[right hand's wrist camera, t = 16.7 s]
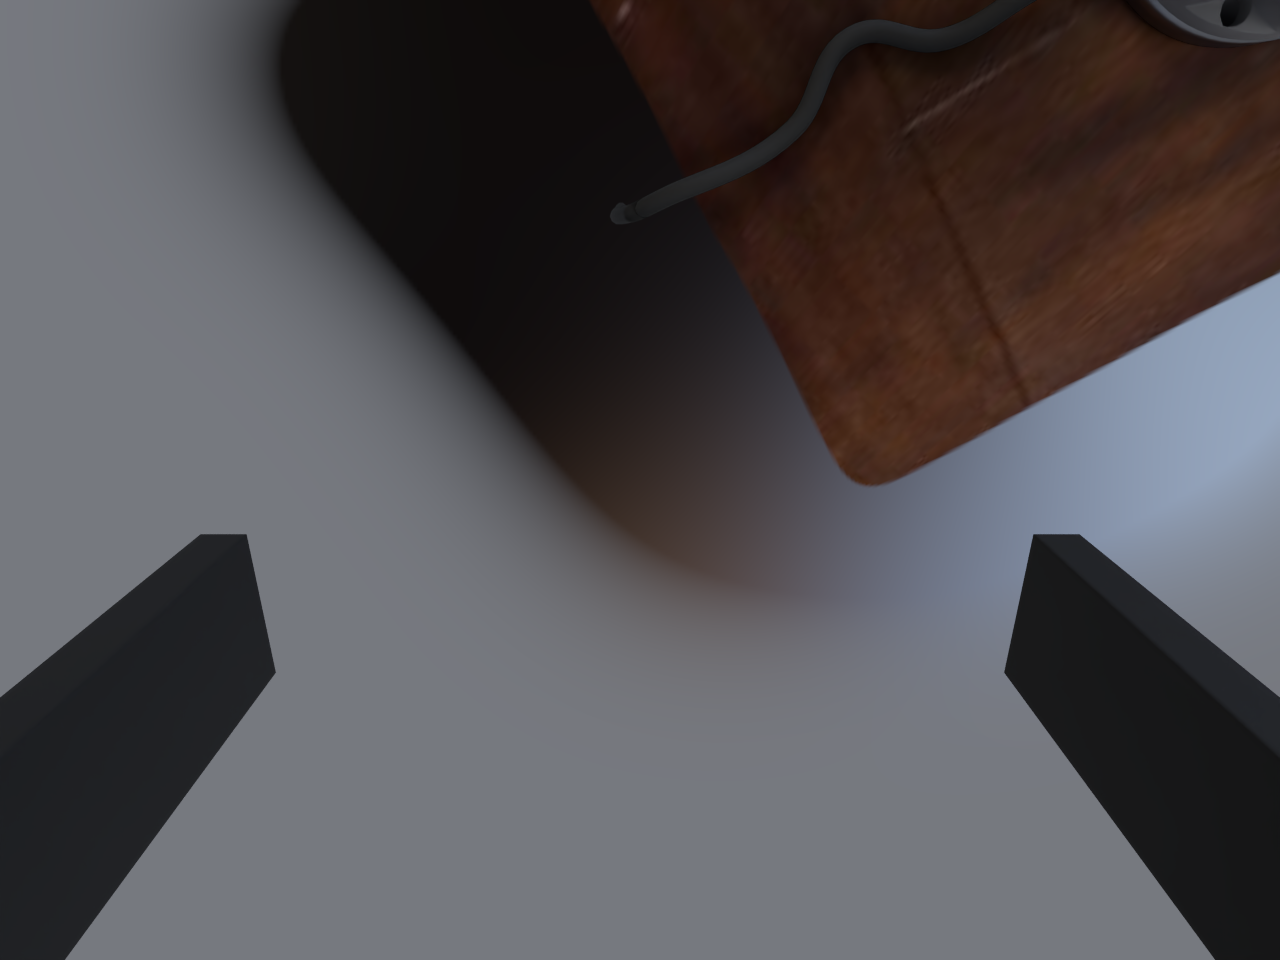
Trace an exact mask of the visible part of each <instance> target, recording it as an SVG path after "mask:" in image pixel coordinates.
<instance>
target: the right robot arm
mask: <svg viewBox="0 0 1280 960" xmlns="http://www.w3.org/2000/svg"><path fill="white" fill-rule="evenodd" d="M1034 1H1036V0H996V1H995V2H993V3H992V4H990V5H989V6H987V7H986V8H984V9H983V10H981V11H980V12H978V13H976V14H975V15H973V16H971V17H969V18H967V19H965V20H963V21H961V22H959V23H956V24H954V25H951V26H948V27H945V28H940V29H920V28H915V27H911V26H907V25H904V24H900V23H896V22H892V21H887V20H876V19H874V20H865V21H862V22H858V23H855V24H853V25H851V26H849V27H847V28H845V29H844V30H843V31H841V32H840V33H838V34H837V35H836V36H835V37H834V38H833V39H832V40H831V41H830V42H829V43H828V44H827V46H826V47H825V48H824V50H823V51H822V53H821V55H820V56H819V58H818V60H817V62H816V64H815V67H814V69H813V71H812V74H811V76H810V79H809V82H808V85H807V87H806V90H805V92H804V95H803V97H802V99H801V102H800V104H799V106H798V107H797V109H796V111H795V112H794V114H793V115H792V116H791V117H790V118H789V120H788V121H787V122H786V123H785V124H783V125H782V126H781V127H780V128H779V129H778V130H777V131H775V132H774V133H773V134H772V135H770V136H769V137H768V138H766V139H765V140H763V141H762V142H760V143H759V144H757V145H756V146H754V147H753V148H751V149H749V150H747V151H746V152H744V153H742V154H740V155H738V156H736V157H734V158H732V159H730V160H727V161H725V162H723V163H721V164H718V165H716V166H713V167H711V168H708V169H706V170H703V171H701V172H698V173H696V174H693V175H691V176H688V177H686V178H683V179H681V180H678V181H676V182H674V183H672V184H669V185H667V186H665V187H663V188H661V189H659V190H657V191H655V192H653V193H651V194H649V195H647V196H645V197H643V198H641V199H639V200H637V201H635V202H633V203H631V204H629V205H625V204H624V203H618V204H617V205H616V207H615V208H614V209H613V210H612V211H611V215H610V218H611V220H612V222H614V223H615V224H627V223H632V222H637V221H640V220H642V219H645V218H647V217H649V216H651V215H653V214H655V213H657V212H659V211H661V210H663V209H666V208H668V207H670V206H672V205H674V204H676V203H679V202H681V201H684V200H686V199H689V198H691V197H694V196H696V195H699V194H701V193H704V192H706V191H709V190H711V189H714V188H717V187H719V186H721V185H724V184H726V183H729V182H731V181H733V180H735V179H738V178H740V177H742V176H744V175H746V174H748V173H750V172H752V171H754V170H755V169H757V168H759V167H761V166H762V165H764V164H765V163H767V162H768V161H770V160H772V159H773V158H775V157H776V156H777V155H779V154H780V153H781V152H783V151H784V150H785V149H786V148H788V147H789V146H790V145H791V144H792V143H793V142H795V141H796V140H797V139H798V138H799V137H800V136H801V135H802V134H803V133H804V132H805V131H806V129H807V128H808V127H809V125H810V124H811V122H812V121H813V119H814V117H815V116H816V114H817V112H818V110H819V108H820V106H821V103H822V101H823V98H824V96H825V93H826V91H827V88H828V85H829V83H830V80H831V78H832V75H833V73H834V71H835V69H836V67H837V66H838V64H839V62H840V61H841V60H842V58H843V57H844V56H845V55H846V54H847V53H849V52H850V51H851V50H853V49H854V48H856V47H858V46H860V45H863V44H867V43H881V44H887V45H891V46H894V47H898V48H902V49H906V50H910V51H915V52H924V53H929V52H940V51H945V50H949V49H952V48H955V47H958V46H960V45H963V44H965V43H968V42H970V41H972V40H974V39H976V38H978V37H980V36H981V35H983V34H985V33H986V32H988V31H990V30H991V29H993V28H994V27H996V26H997V25H999V24H1000V23H1002V22H1003V21H1005V20H1006V19H1008V18H1009V17H1011V16H1012V15H1014V14H1015V13H1017V12H1018V11H1020V10H1021V9H1023V8H1025V7H1026V6H1028V5H1029V4H1031V3H1033V2H1034ZM1126 1H1127V2H1128V4H1129V5H1130V6H1131V7H1132V8H1133V9H1134V10H1135V11H1136V13H1137V14H1138V15H1139V16H1141V17H1142V18H1143V19H1144V20H1145V21H1146V22H1147V23H1149V24H1150V25H1151V26H1153V27H1154V28H1156V29H1157V30H1159V31H1160V32H1162V33H1164V34H1166V35H1168V36H1170V37H1172V38H1174V39H1177V40H1180V41H1182V42H1185V43H1188V44H1193V45H1198V46H1202V47H1214V48H1232V47H1240V46H1248V45H1253V44H1258V43H1262V42H1267V41H1272V40H1276V39H1280V0H1126ZM275 673H276V672H275V667H274V662H273V657H272V653H271V648H270V643H269V638H268V634H267V629H266V624H265V620H264V615H263V610H262V605H261V601H260V596H259V591H258V586H257V582H256V577H255V572H254V568H253V563H252V558H251V554H250V549H249V544H248V540H247V535H246V534H201V535H199V536H198V537H197V538H196V539H194V540H193V541H192V542H191V543H190V544H188V545H187V546H186V547H185V548H183V549H182V550H181V551H180V552H178V553H177V554H176V555H175V556H173V557H172V558H171V559H170V560H169V561H167V562H166V563H165V564H164V565H163V566H161V567H160V568H159V569H158V570H156V571H155V572H154V573H153V574H151V575H150V576H149V577H148V578H146V579H145V580H144V581H143V582H142V583H140V584H139V585H138V586H137V587H135V588H134V589H133V590H132V591H131V592H129V593H128V594H127V595H126V596H124V597H123V598H122V599H121V600H119V601H118V602H117V603H116V604H115V605H113V606H112V607H111V608H110V609H108V610H107V611H106V612H105V613H103V614H102V615H101V616H100V617H99V618H97V619H96V620H95V621H94V622H92V623H91V624H90V625H89V626H88V627H86V628H85V629H84V630H83V631H81V632H80V633H79V634H78V635H76V636H75V637H74V638H73V639H72V640H70V641H69V642H68V643H67V644H65V645H64V646H63V647H62V648H61V649H59V650H58V651H57V652H56V653H54V654H53V655H52V656H51V657H49V658H48V659H47V660H46V661H45V662H43V663H42V664H41V665H40V666H38V667H37V668H36V669H35V670H34V671H32V672H31V673H30V674H29V675H27V676H26V677H25V678H24V679H22V680H21V681H20V682H19V683H18V684H16V685H15V686H14V687H13V688H11V689H10V690H9V691H8V692H6V693H5V694H4V695H3V696H2V697H0V960H65V959H66V957H67V956H68V955H69V953H70V952H71V951H72V949H73V948H74V947H75V945H76V944H77V942H78V941H79V940H80V938H81V937H82V936H83V934H84V933H85V931H86V930H87V929H88V927H89V926H90V925H91V923H92V922H93V921H94V919H95V918H96V917H97V915H98V914H99V913H100V911H101V910H102V908H103V907H104V906H105V904H106V903H107V902H108V900H109V899H110V898H111V896H112V895H113V893H114V892H115V891H116V889H117V888H118V887H119V885H120V884H121V883H122V881H123V880H124V878H125V877H126V876H127V874H128V873H129V872H130V870H131V869H132V868H133V866H134V865H135V863H136V862H137V861H138V859H139V858H140V857H141V855H142V854H143V853H144V851H145V850H146V848H147V847H148V846H149V844H150V843H151V842H152V840H153V839H154V838H155V836H156V835H157V834H158V832H159V831H160V829H161V828H162V827H163V825H164V824H165V823H166V821H167V820H168V819H169V817H170V816H171V814H172V813H173V812H174V810H175V809H176V808H177V806H178V805H179V804H180V802H181V801H182V799H183V798H184V797H185V795H186V794H187V793H188V791H189V790H190V789H191V787H192V786H193V784H194V783H195V782H196V780H197V779H198V778H199V776H200V775H201V774H202V772H203V771H204V770H205V768H206V767H207V765H208V764H209V763H210V761H211V760H212V759H213V757H214V756H215V755H216V753H217V752H218V750H219V749H220V748H221V746H222V745H223V744H224V742H225V741H226V740H227V738H228V737H229V735H230V734H231V733H232V731H233V730H234V729H235V727H236V726H237V725H238V723H239V722H240V720H241V719H242V718H243V716H244V715H245V714H246V712H247V711H248V710H249V708H250V707H251V706H252V704H253V703H254V701H255V700H256V699H257V697H258V696H259V695H260V693H261V692H262V691H263V689H264V688H265V686H266V685H267V684H268V682H269V681H270V680H271V678H272V677H273V676H274V674H275ZM1004 673H1005V674H1006V676H1007V677H1008V678H1009V680H1010V681H1011V682H1012V684H1013V685H1014V686H1015V688H1016V689H1017V691H1018V692H1019V693H1020V695H1021V696H1022V697H1023V699H1024V700H1025V701H1026V703H1027V704H1028V705H1029V707H1030V708H1031V710H1032V711H1033V712H1034V714H1035V715H1036V716H1037V718H1038V719H1039V721H1040V722H1041V723H1042V725H1043V726H1044V727H1045V729H1046V730H1047V731H1048V733H1049V734H1050V735H1051V737H1052V738H1053V740H1054V741H1055V742H1056V744H1057V745H1058V746H1059V748H1060V749H1061V750H1062V752H1063V753H1064V755H1065V756H1066V757H1067V759H1068V760H1069V761H1070V763H1071V764H1072V765H1073V767H1074V768H1075V770H1076V771H1077V772H1078V774H1079V775H1080V776H1081V778H1082V779H1083V780H1084V782H1085V783H1086V784H1087V786H1088V787H1089V789H1090V790H1091V791H1092V793H1093V794H1094V795H1095V797H1096V798H1097V799H1098V801H1099V802H1100V804H1101V805H1102V806H1103V808H1104V809H1105V810H1106V812H1107V813H1108V814H1109V816H1110V817H1111V819H1112V820H1113V821H1114V823H1115V824H1116V825H1117V827H1118V828H1119V829H1120V831H1121V832H1122V834H1123V835H1124V836H1125V838H1126V839H1127V840H1128V842H1129V843H1130V844H1131V846H1132V847H1133V848H1134V850H1135V851H1136V853H1137V854H1138V855H1139V857H1140V858H1141V859H1142V861H1143V862H1144V863H1145V865H1146V866H1147V868H1148V869H1149V870H1150V872H1151V873H1152V874H1153V876H1154V877H1155V878H1156V880H1157V881H1158V883H1159V884H1160V885H1161V887H1162V888H1163V889H1164V891H1165V892H1166V893H1167V895H1168V896H1169V898H1170V899H1171V900H1172V902H1173V903H1174V904H1175V906H1176V907H1177V908H1178V910H1179V911H1180V913H1181V914H1182V915H1183V917H1184V918H1185V919H1186V921H1187V922H1188V923H1189V925H1190V926H1191V927H1192V929H1193V930H1194V932H1195V933H1196V934H1197V936H1198V937H1199V938H1200V940H1201V941H1202V942H1203V944H1204V945H1205V946H1206V948H1207V949H1208V951H1209V952H1210V953H1211V955H1212V956H1213V957H1214V959H1215V960H1280V697H1278V696H1277V695H1276V694H1275V693H1274V692H1272V691H1271V690H1270V689H1269V688H1267V687H1266V686H1265V685H1264V684H1262V683H1261V682H1260V681H1259V680H1258V679H1256V678H1255V677H1254V676H1253V675H1251V674H1250V673H1249V672H1248V671H1246V670H1245V669H1244V668H1243V667H1242V666H1240V665H1239V664H1238V663H1237V662H1235V661H1234V660H1233V659H1232V658H1231V657H1229V656H1228V655H1227V654H1226V653H1224V652H1223V651H1222V650H1221V649H1220V648H1218V647H1217V646H1216V645H1215V644H1213V643H1212V642H1211V641H1210V640H1208V639H1207V638H1206V637H1205V636H1204V635H1202V634H1201V633H1200V632H1199V631H1197V630H1196V629H1195V628H1194V627H1192V626H1191V625H1190V624H1189V623H1188V622H1186V621H1185V620H1184V619H1183V618H1181V617H1180V616H1179V615H1178V614H1176V613H1175V612H1174V611H1173V610H1172V609H1170V608H1169V607H1168V606H1167V605H1165V604H1164V603H1163V602H1162V601H1161V600H1159V599H1158V598H1157V597H1156V596H1154V595H1153V594H1152V593H1151V592H1149V591H1148V590H1147V589H1146V588H1145V587H1143V586H1142V585H1141V584H1140V583H1138V582H1137V581H1136V580H1135V579H1134V578H1132V577H1131V576H1130V575H1129V574H1127V573H1126V572H1125V571H1124V570H1122V569H1121V568H1120V567H1119V566H1118V565H1116V564H1115V563H1114V562H1113V561H1111V560H1110V559H1109V558H1108V557H1106V556H1105V555H1104V554H1103V553H1102V552H1100V551H1099V550H1098V549H1097V548H1095V547H1094V546H1093V545H1092V544H1091V543H1089V542H1088V541H1087V540H1086V539H1084V538H1083V537H1082V536H1081V535H1079V534H1034V535H1033V539H1032V544H1031V549H1030V553H1029V558H1028V563H1027V568H1026V572H1025V577H1024V582H1023V586H1022V591H1021V596H1020V601H1019V605H1018V610H1017V615H1016V620H1015V624H1014V629H1013V634H1012V638H1011V644H1010V648H1009V653H1008V657H1007V662H1006V667H1005V672H1004Z"/></svg>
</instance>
